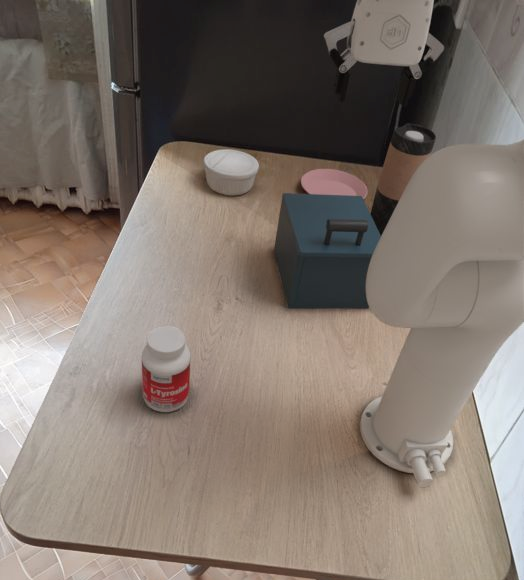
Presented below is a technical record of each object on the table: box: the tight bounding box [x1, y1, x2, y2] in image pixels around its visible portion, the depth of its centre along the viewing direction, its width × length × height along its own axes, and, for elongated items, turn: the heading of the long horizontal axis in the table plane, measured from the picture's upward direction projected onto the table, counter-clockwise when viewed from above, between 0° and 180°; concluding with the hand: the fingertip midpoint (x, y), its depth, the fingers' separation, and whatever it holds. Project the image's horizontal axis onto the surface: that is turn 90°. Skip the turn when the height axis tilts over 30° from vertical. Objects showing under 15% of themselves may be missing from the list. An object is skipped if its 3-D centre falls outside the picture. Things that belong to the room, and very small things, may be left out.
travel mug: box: [370, 123, 437, 236], centre depth 107 cm, size 8×8×20 cm
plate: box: [300, 168, 368, 200], centre depth 121 cm, size 14×14×2 cm
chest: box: [273, 197, 371, 309], centre depth 96 cm, size 16×14×11 cm
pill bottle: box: [141, 325, 192, 413], centre depth 73 cm, size 6×6×11 cm
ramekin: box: [203, 149, 260, 196], centre depth 117 cm, size 11×11×5 cm
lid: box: [281, 192, 381, 258], centre depth 90 cm, size 17×14×5 cm
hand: (370, 100), depth 85 cm, fingers open, 9 cm apart
